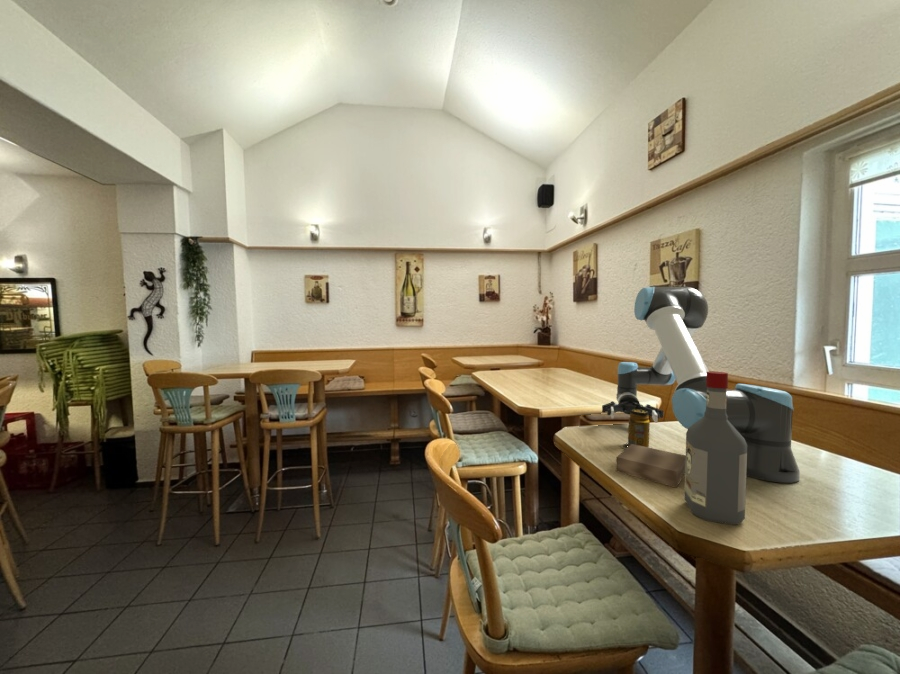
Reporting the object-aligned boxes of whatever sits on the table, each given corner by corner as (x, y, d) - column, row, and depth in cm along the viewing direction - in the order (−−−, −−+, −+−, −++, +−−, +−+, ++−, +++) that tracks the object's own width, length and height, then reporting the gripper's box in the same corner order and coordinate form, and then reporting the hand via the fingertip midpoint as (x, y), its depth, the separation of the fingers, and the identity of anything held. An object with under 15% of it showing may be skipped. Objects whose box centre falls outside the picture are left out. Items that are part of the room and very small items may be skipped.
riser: (686, 470, 96) (686, 455, 96) (676, 487, 86) (676, 471, 86) (631, 456, 106) (631, 443, 106) (616, 471, 95) (616, 456, 95)
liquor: (730, 505, 77) (734, 370, 76) (749, 528, 69) (754, 376, 68) (681, 498, 81) (685, 369, 79) (694, 519, 72) (698, 374, 71)
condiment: (653, 447, 114) (654, 411, 114) (644, 454, 108) (645, 415, 108) (629, 442, 119) (630, 407, 119) (620, 448, 114) (620, 411, 113)
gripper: (663, 415, 138) (675, 431, 118) (595, 409, 147) (595, 423, 128) (664, 396, 137) (676, 409, 118) (595, 391, 147) (595, 402, 127)
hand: (634, 416), depth 123 cm, fingers open, 13 cm apart
